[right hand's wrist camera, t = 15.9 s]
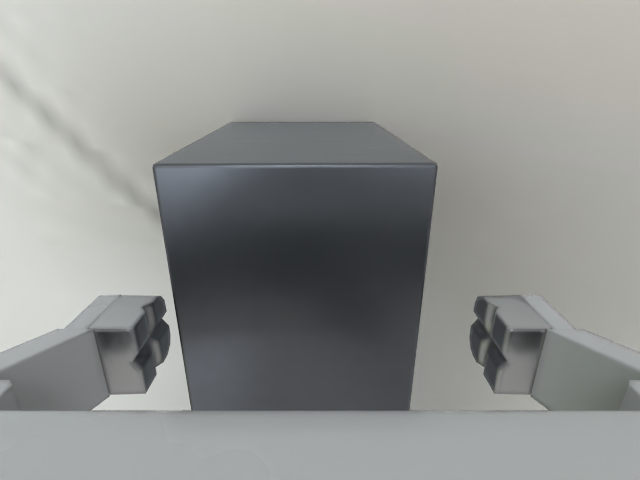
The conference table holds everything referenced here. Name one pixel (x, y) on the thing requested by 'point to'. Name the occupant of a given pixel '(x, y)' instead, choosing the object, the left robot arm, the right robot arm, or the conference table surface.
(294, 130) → the bar
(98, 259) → the conference table surface
